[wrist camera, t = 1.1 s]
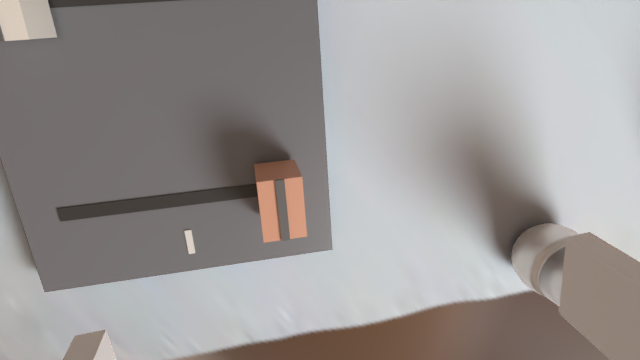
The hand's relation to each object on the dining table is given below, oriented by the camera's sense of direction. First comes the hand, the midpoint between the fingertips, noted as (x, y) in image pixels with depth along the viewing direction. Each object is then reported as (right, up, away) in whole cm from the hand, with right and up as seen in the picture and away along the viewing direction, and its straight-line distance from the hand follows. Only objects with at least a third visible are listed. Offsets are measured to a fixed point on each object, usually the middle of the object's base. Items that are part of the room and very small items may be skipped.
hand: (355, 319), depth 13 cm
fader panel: (-12, +10, +19) cm, 25 cm away
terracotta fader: (-4, +3, +21) cm, 21 cm away
